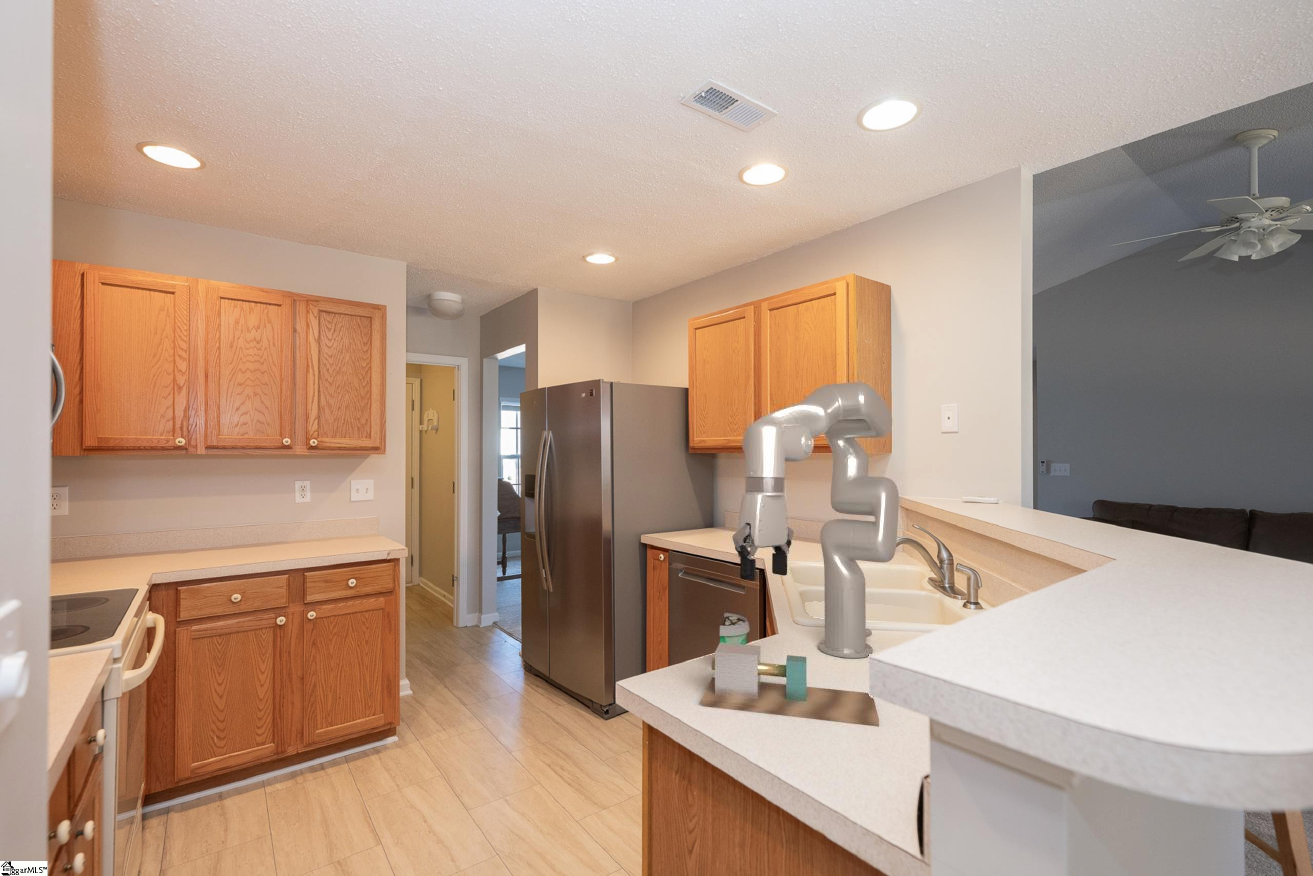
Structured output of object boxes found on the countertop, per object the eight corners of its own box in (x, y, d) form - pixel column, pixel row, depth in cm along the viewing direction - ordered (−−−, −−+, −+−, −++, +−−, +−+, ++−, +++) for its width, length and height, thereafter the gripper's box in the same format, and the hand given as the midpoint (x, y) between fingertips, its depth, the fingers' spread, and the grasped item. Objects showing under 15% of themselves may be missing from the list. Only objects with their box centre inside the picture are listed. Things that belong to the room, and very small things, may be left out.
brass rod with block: (710, 691, 114) (711, 653, 114) (713, 684, 117) (714, 648, 117) (806, 701, 109) (806, 662, 109) (806, 694, 113) (806, 656, 113)
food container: (748, 675, 126) (748, 628, 126) (719, 673, 127) (719, 626, 127) (750, 657, 138) (751, 614, 138) (724, 655, 139) (724, 612, 140)
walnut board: (701, 705, 110) (701, 699, 110) (712, 682, 121) (712, 677, 122) (879, 726, 102) (878, 719, 102) (872, 699, 113) (872, 693, 114)
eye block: (714, 694, 112) (715, 651, 113) (719, 683, 118) (720, 642, 118) (757, 699, 110) (757, 655, 111) (760, 687, 116) (760, 646, 116)
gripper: (776, 486, 122) (775, 570, 121) (719, 486, 111) (718, 579, 110) (807, 487, 116) (807, 575, 116) (751, 488, 105) (750, 585, 104)
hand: (764, 577), depth 113 cm, fingers open, 9 cm apart
